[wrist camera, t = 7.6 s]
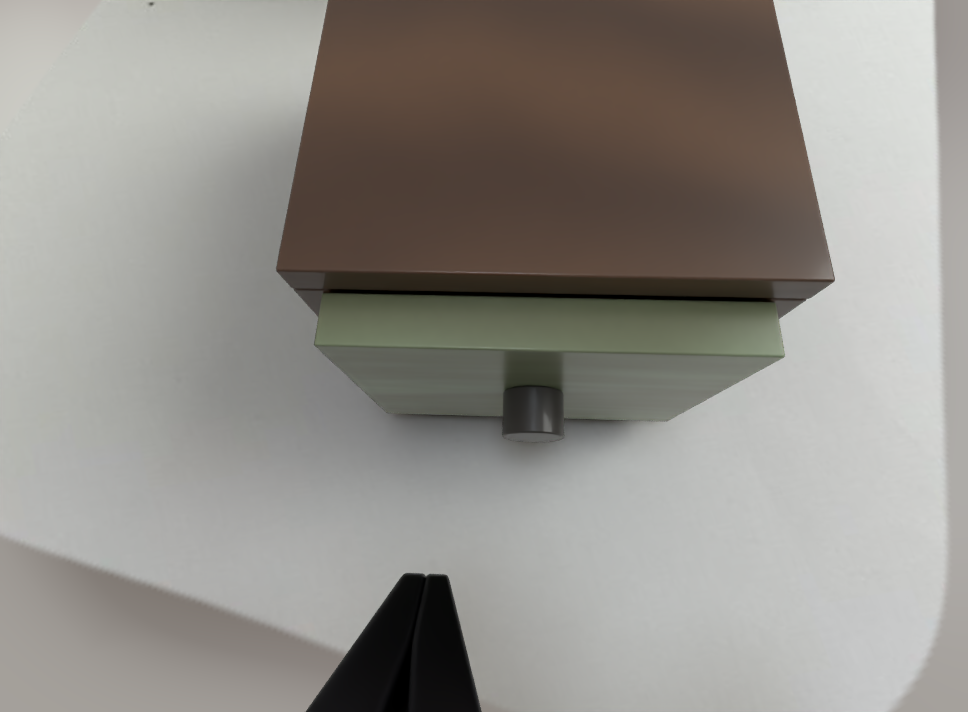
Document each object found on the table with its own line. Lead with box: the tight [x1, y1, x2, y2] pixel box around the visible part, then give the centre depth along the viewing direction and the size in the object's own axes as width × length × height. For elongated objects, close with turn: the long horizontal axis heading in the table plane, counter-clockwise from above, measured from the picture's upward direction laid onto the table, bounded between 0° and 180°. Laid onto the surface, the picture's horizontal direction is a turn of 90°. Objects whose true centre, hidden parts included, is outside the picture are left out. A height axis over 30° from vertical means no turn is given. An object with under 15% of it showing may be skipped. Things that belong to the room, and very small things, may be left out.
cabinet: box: [276, 0, 835, 319], centre depth 15 cm, size 14×11×9 cm
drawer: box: [314, 290, 785, 442], centre depth 14 cm, size 14×9×7 cm
